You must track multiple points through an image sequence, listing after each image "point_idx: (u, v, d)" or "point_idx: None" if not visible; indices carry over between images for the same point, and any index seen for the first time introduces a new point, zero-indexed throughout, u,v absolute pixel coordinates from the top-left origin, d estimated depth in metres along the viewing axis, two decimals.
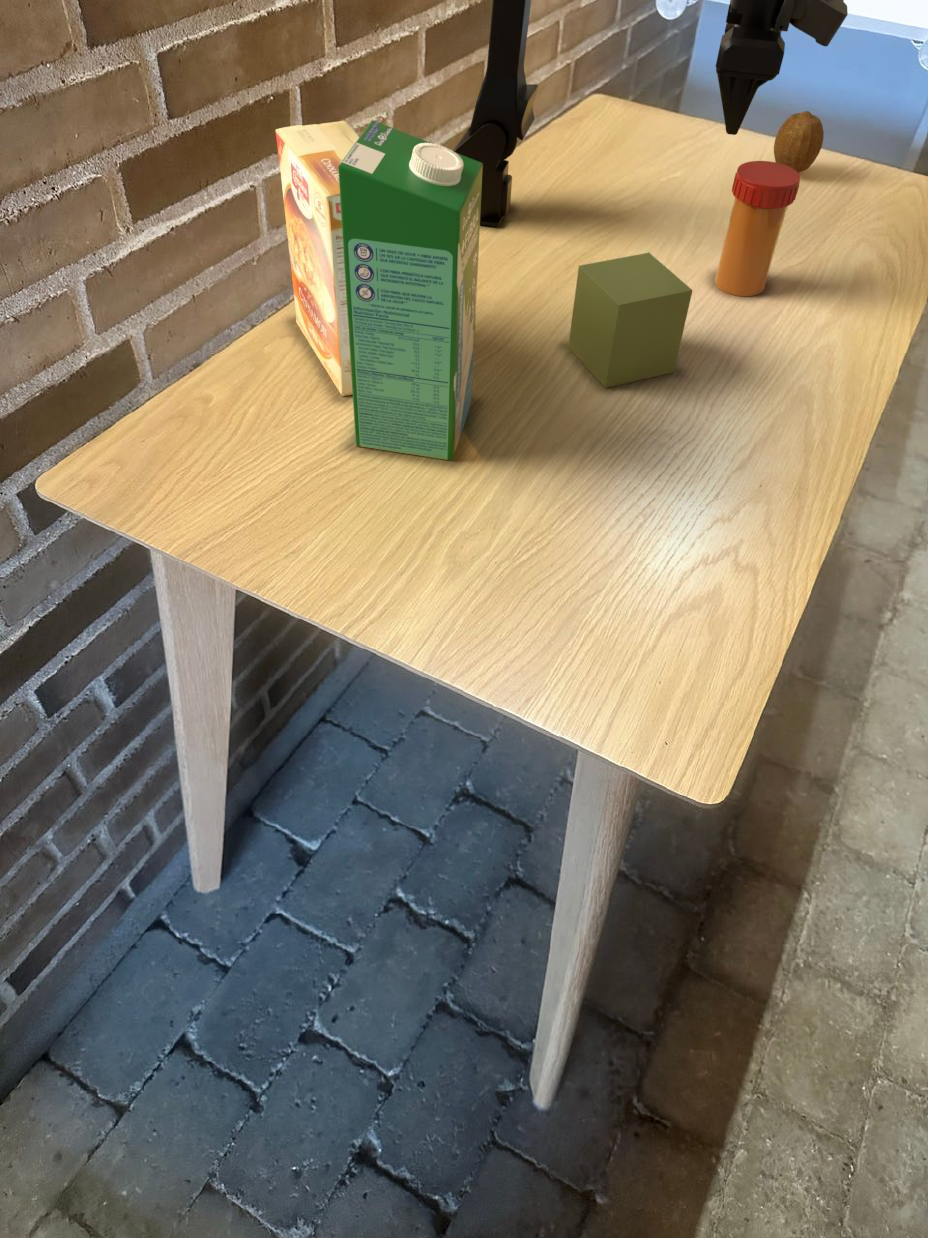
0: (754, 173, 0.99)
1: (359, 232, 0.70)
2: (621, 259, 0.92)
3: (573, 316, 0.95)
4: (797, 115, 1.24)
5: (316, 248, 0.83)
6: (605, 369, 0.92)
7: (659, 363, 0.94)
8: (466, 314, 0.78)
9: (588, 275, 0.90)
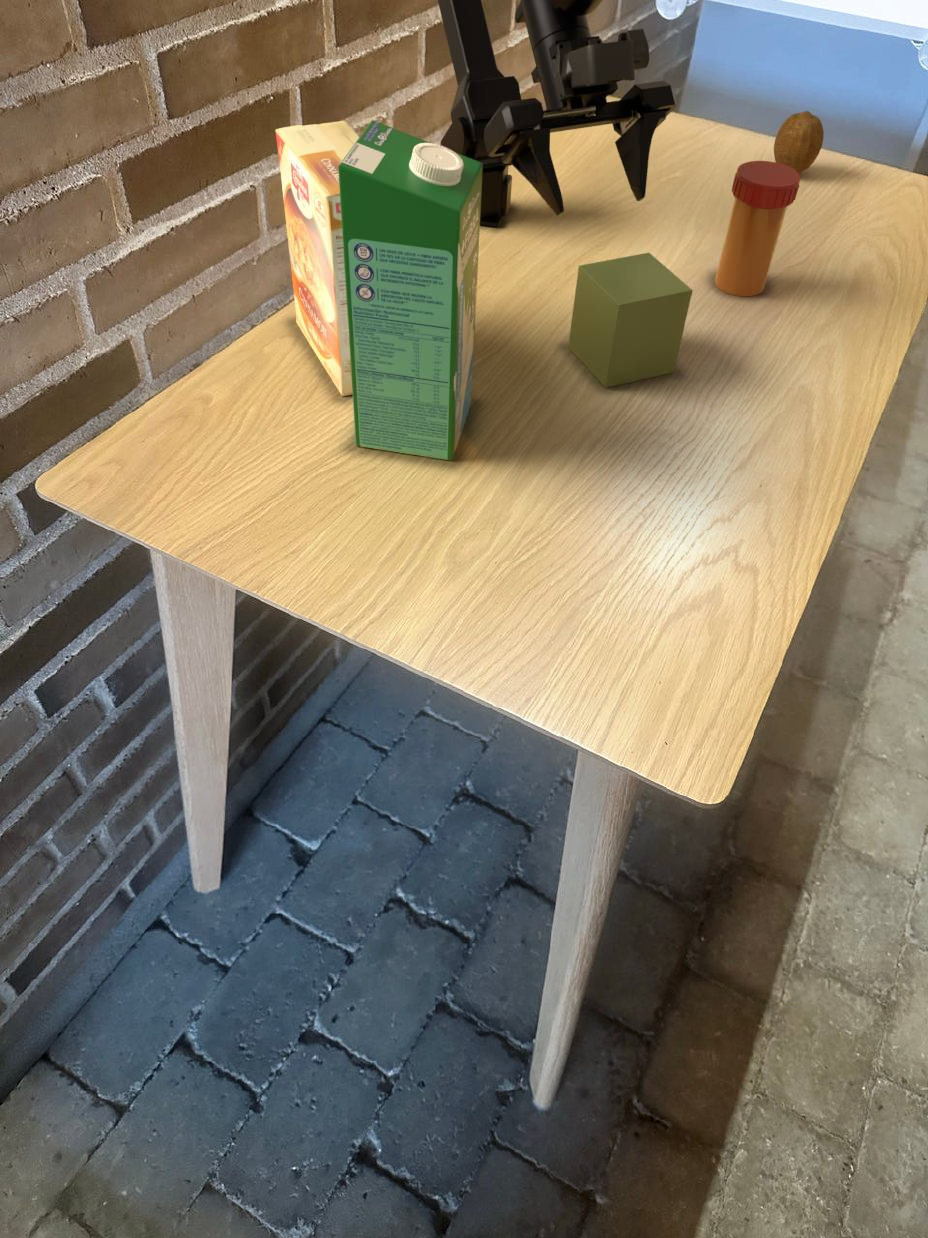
0: (754, 173, 0.99)
1: (359, 232, 0.70)
2: (621, 259, 0.92)
3: (573, 316, 0.95)
4: (797, 115, 1.24)
5: (316, 248, 0.83)
6: (605, 369, 0.92)
7: (659, 363, 0.94)
8: (466, 314, 0.78)
9: (588, 275, 0.90)
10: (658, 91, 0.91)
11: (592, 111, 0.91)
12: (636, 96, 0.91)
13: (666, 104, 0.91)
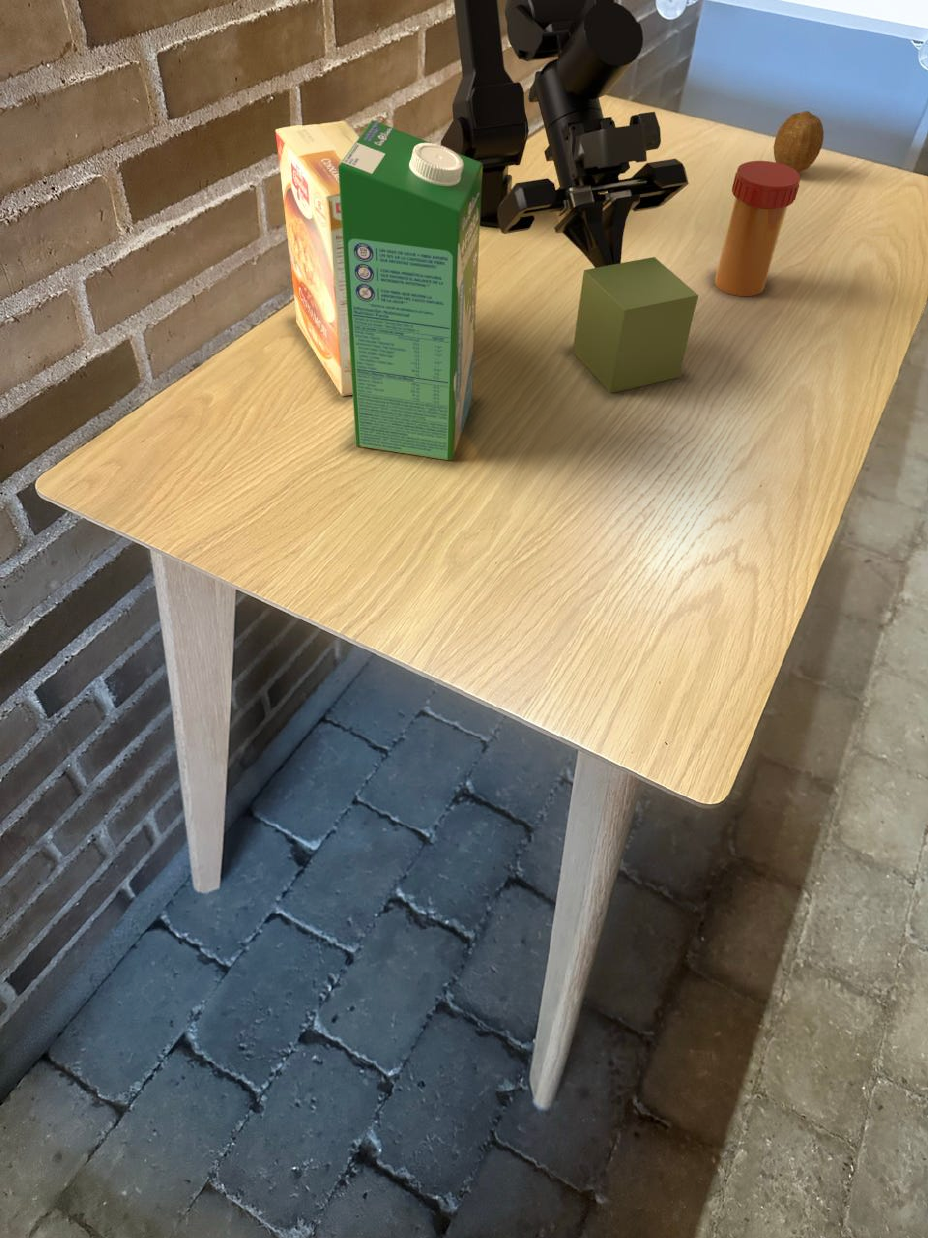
0: (754, 173, 0.99)
1: (359, 232, 0.70)
2: (626, 263, 0.92)
3: (578, 321, 0.94)
4: (797, 115, 1.24)
5: (316, 248, 0.83)
6: (610, 374, 0.91)
7: (664, 368, 0.93)
8: (466, 314, 0.78)
9: (593, 279, 0.89)
10: (670, 169, 0.92)
11: (643, 183, 0.93)
12: (648, 174, 0.92)
13: (678, 181, 0.92)
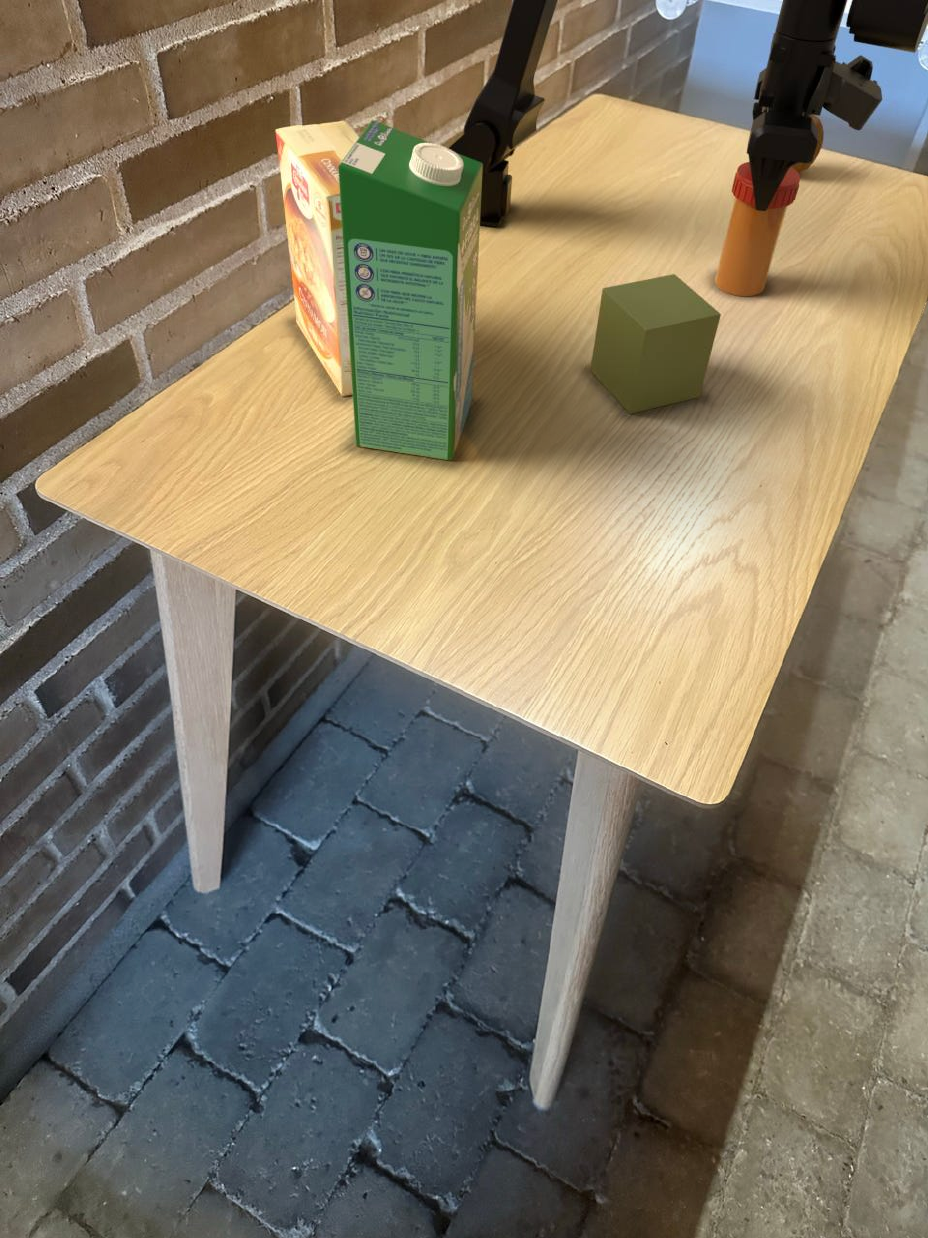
0: None
1: (359, 232, 0.70)
2: (646, 281, 0.89)
3: (596, 339, 0.92)
4: None
5: (316, 248, 0.83)
6: (630, 395, 0.89)
7: (684, 388, 0.91)
8: (466, 314, 0.78)
9: (613, 298, 0.87)
10: None
11: None
12: None
13: None
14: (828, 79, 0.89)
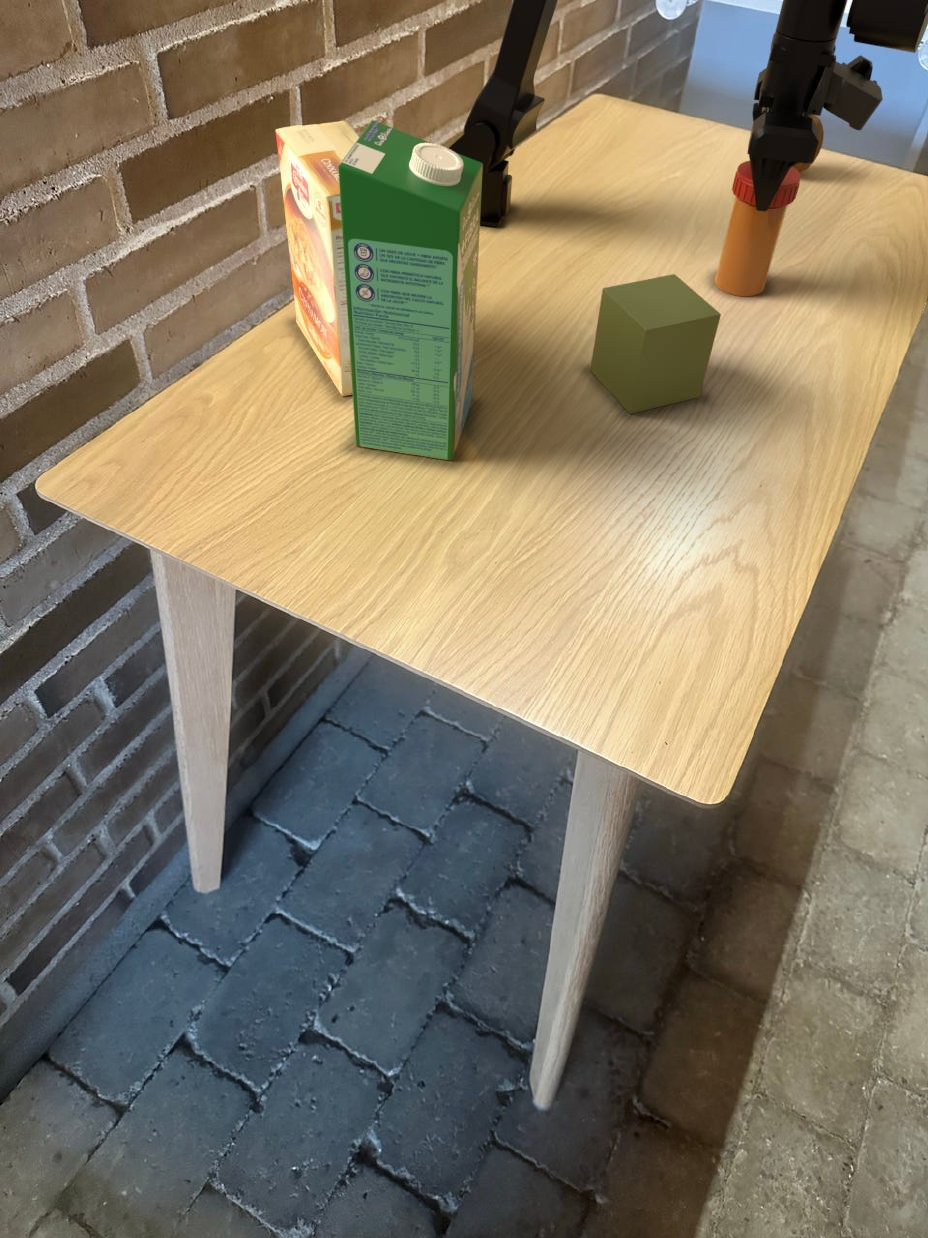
0: None
1: (359, 232, 0.70)
2: (646, 281, 0.89)
3: (596, 339, 0.92)
4: None
5: (316, 248, 0.83)
6: (630, 395, 0.89)
7: (684, 388, 0.91)
8: (466, 314, 0.78)
9: (613, 298, 0.87)
10: None
11: None
12: None
13: None
14: (828, 79, 0.89)
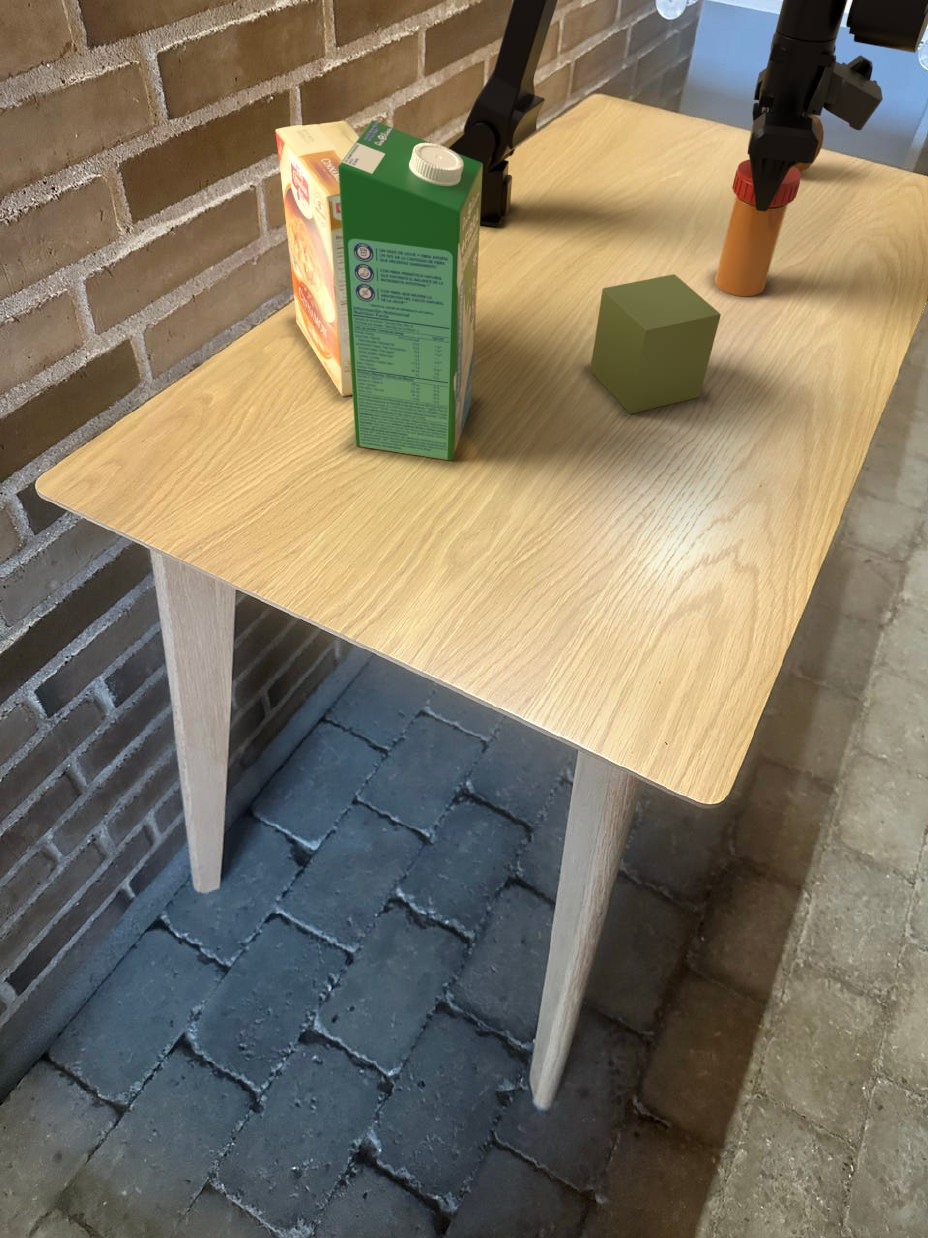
0: None
1: (359, 232, 0.70)
2: (646, 281, 0.89)
3: (596, 339, 0.92)
4: None
5: (316, 248, 0.83)
6: (630, 395, 0.89)
7: (684, 388, 0.91)
8: (466, 314, 0.78)
9: (612, 298, 0.87)
10: None
11: None
12: None
13: None
14: (828, 79, 0.89)
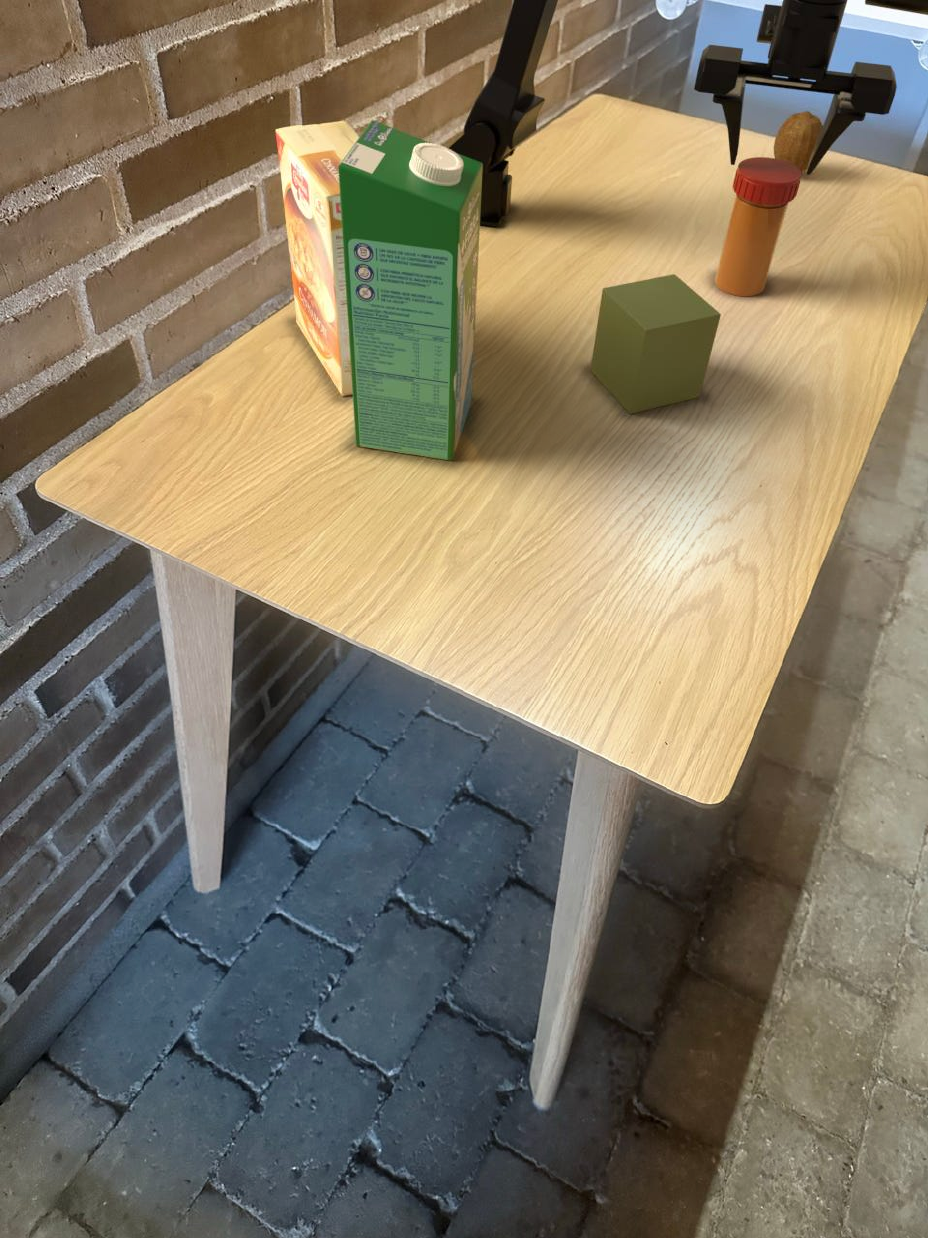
0: (765, 163, 1.00)
1: (359, 232, 0.70)
2: (646, 281, 0.89)
3: (596, 339, 0.92)
4: (797, 115, 1.24)
5: (316, 248, 0.83)
6: (630, 395, 0.89)
7: (685, 388, 0.91)
8: (466, 314, 0.78)
9: (613, 298, 0.87)
10: None
11: None
12: None
13: None
14: None
